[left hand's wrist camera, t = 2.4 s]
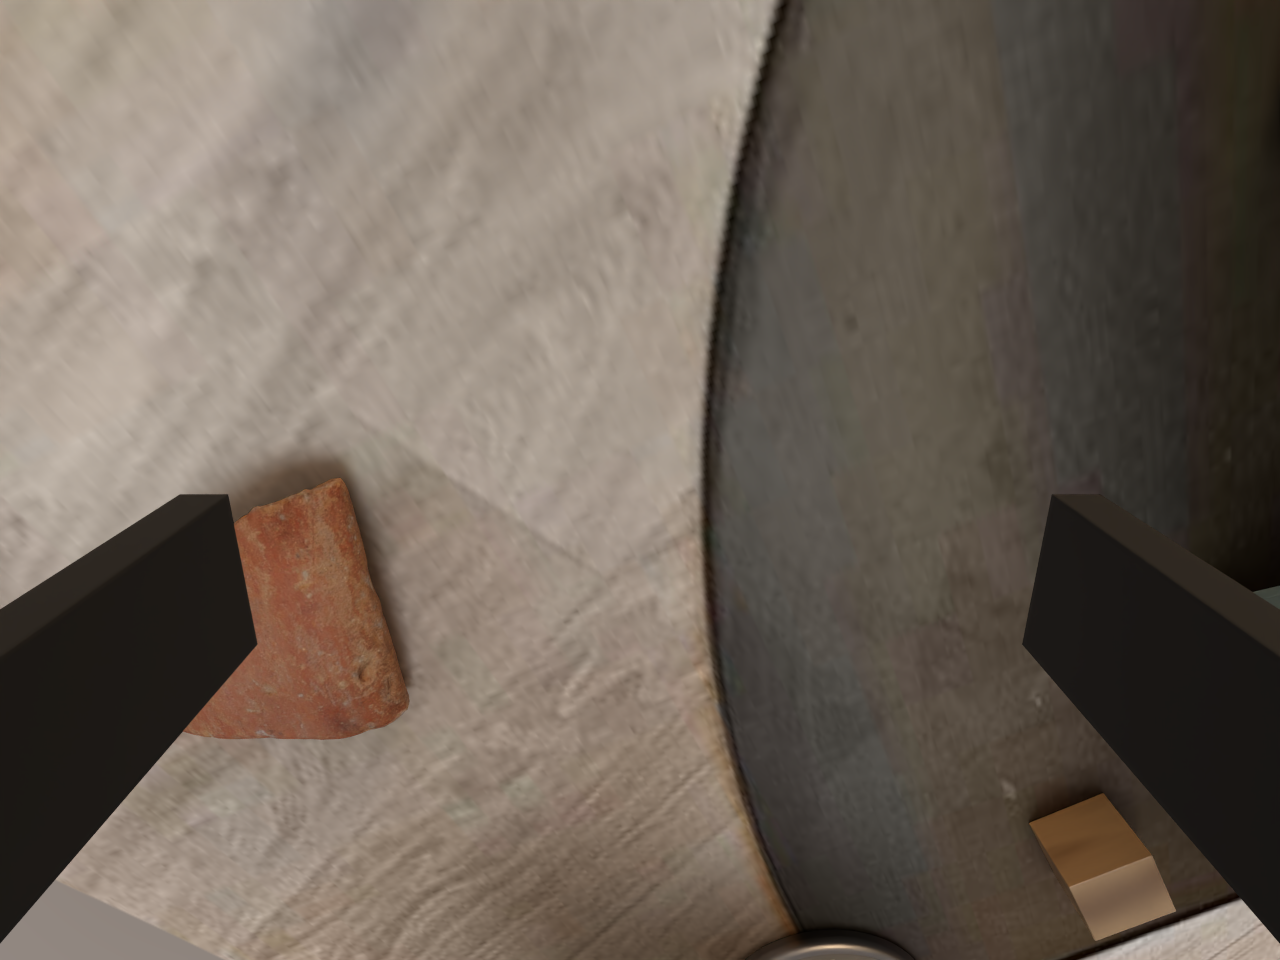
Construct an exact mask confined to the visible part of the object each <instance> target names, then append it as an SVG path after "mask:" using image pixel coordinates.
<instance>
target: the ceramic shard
mask: <svg viewBox="0 0 1280 960" xmlns="http://www.w3.org/2000/svg"><path fill="white" fill-rule="evenodd" d="M234 527H235V532H236V537H237V542H238V547H239V552H240V557H241V562H242V567H243V573H244V578H245V583H246V588H247V593H248V598H249V603H250V608H251V613H252V618H253V623H254V628H255V633H256V638H257V643H258V645H257V646H256V647H255V648H254V649H253V650H252V652H251V653H250V654H249V655H248V656H247V657H246V658H245V660H244V661H243V662H242V663H241V664H240V665H239V667H238V668H237V669H236V670H235V671H234V672H233V674H232V675H231V676H230V677H229V678H228V679H227V681H226V682H225V683H224V684H223V685H222V686H221V688H220V689H219V690H218V691H217V692H216V693H215V694H214V696H213V697H212V698H211V699H210V700H209V701H208V703H207V704H206V705H205V706H204V707H203V708H202V710H201V711H200V712H199V713H198V714H197V715H196V717H195V718H194V719H193V720H192V721H191V722H190V724H189V725H188V726H187V727H186V728H185V729H184V730H183V732H187V733H190V734H194V735H199V736H203V737H216V738H222V739H249V738H268V737H272V738H278V739H320V740H324V739H341V738H347V737H351V736H354V735H358V734H361V733H363V732H365V731H368V730H372V729H376V728H381V727H385V726H386V725H388V724H390V723H392V722H393V721H395V720H396V719H397V718H398V717H400V716H401V715H402V714H403V713H404V712H405V711H406V710H407V709H408V705H409V695H408V692H407V689H406V686H405V683H404V680H403V677H402V673H401V669H400V666H399V664H398V660H397V655H396V652H395V649H394V646H393V643H392V639H391V636H390V633H389V630H388V627H387V624H386V621H385V618H384V616H383V613H382V607H381V602H380V600H379V597H378V596H377V594H376V592H375V590H374V588H373V585H372V582H371V579H370V575H369V571H368V569H367V558H366V554H365V550H364V546H363V542H362V538H361V534H360V530H359V526H358V523H357V521H356V517H355V513H354V508H353V505H352V502H351V499H350V495H349V491H348V489H347V487H346V485H345V483H344V482H343V480H342V479H341V478H336V479H330V480H328V481H326V482H324V483H322V484H319V485H318V486H316V487H315V488H313V489H311V490H307V489H304V490H303V491H301V492H300V493H298V494H294V495H291V496H289V497H287V498H285V499H282V500H280V501H277V502H274V503H270V504H267V505H264V506H256V507H253V508H252V509H251V511H250V512H249V513H248V514H247V515H245V516H243V517H241V518H240V519H239V520H238V521H236V522H235V523H234Z"/></svg>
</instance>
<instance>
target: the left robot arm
mask: <svg viewBox="0 0 1280 960" xmlns="http://www.w3.org/2000/svg"><path fill="white" fill-rule="evenodd" d="M257 645H258V643H257V638H256V633H255V628H254V623H253V618H252V613H251V608H250V603H249V598H248V593H247V588H246V583H245V578H244V573H243V567H242V562H241V557H240V552H239V547H238V542H237V537H236V532H235V527H234V522H233V517H232V512H231V507H230V502H229V497H228V494H180V495H178V496H177V497H175V498H174V499H172V500H171V501H169V502H167V503H166V504H164V505H163V506H161V507H160V508H158V509H157V510H155V511H153V512H152V513H150V514H149V515H147V516H146V517H144V518H142V519H141V520H139V521H138V522H136V523H135V524H133V525H131V526H130V527H128V528H127V529H125V530H124V531H122V532H121V533H119V534H117V535H116V536H114V537H113V538H111V539H110V540H108V541H106V542H105V543H103V544H102V545H100V546H99V547H97V548H96V549H94V550H92V551H91V552H89V553H88V554H86V555H85V556H83V557H81V558H80V559H78V560H77V561H75V562H74V563H72V564H70V565H69V566H67V567H66V568H64V569H63V570H61V571H60V572H58V573H56V574H55V575H53V576H52V577H50V578H49V579H47V580H45V581H44V582H42V583H41V584H39V585H38V586H36V587H35V588H33V589H31V590H30V591H28V592H27V593H25V594H24V595H22V596H20V597H19V598H17V599H16V600H14V601H13V602H11V603H9V604H8V605H6V606H5V607H3V608H2V609H0V943H1V942H2V941H3V940H4V938H5V937H6V936H7V935H8V934H9V933H10V931H11V930H12V929H13V928H14V927H15V926H16V924H17V923H18V922H19V921H20V920H21V919H22V917H23V916H24V915H25V914H26V913H27V912H28V910H29V909H30V908H31V907H32V906H33V905H34V903H35V902H36V901H37V900H38V899H39V898H40V896H41V895H42V894H43V893H44V892H45V891H46V890H47V888H48V887H49V886H50V885H51V884H52V883H53V881H54V880H55V879H56V878H57V877H58V876H59V874H60V873H61V872H62V871H63V870H64V869H65V868H66V866H67V865H68V864H69V863H70V862H71V861H72V859H73V858H74V857H75V856H76V855H77V854H78V852H79V851H80V850H81V849H82V848H83V847H84V845H85V844H86V843H87V842H88V841H89V840H90V838H91V837H92V836H93V835H94V834H95V833H96V832H97V830H98V829H99V828H100V827H101V826H102V825H103V823H104V822H105V821H106V820H107V819H108V818H109V816H110V815H111V814H112V813H113V812H114V811H115V809H116V808H117V807H118V806H119V805H120V804H121V802H122V801H123V800H124V799H125V798H126V797H127V796H128V794H129V793H130V792H131V791H132V790H133V789H134V787H135V786H136V785H137V784H138V783H139V782H140V780H141V779H142V778H143V777H144V776H145V775H146V773H147V772H148V771H149V770H150V769H151V768H152V766H153V765H154V764H155V763H156V762H157V761H158V760H159V758H160V757H161V756H162V755H163V754H164V753H165V751H166V750H167V749H168V748H169V747H170V746H171V744H172V743H173V742H174V741H175V740H176V739H177V737H178V736H179V735H180V734H181V733H182V732H183V730H184V729H185V728H186V727H187V726H188V725H189V724H190V722H191V721H192V720H193V719H194V718H195V717H196V715H197V714H198V713H199V712H200V711H201V710H202V708H203V707H204V706H205V705H206V704H207V703H208V701H209V700H210V699H211V698H212V697H213V696H214V694H215V693H216V692H217V691H218V690H219V689H220V688H221V686H222V685H223V684H224V683H225V682H226V681H227V679H228V678H229V677H230V676H231V675H232V674H233V672H234V671H235V670H236V669H237V668H238V667H239V665H240V664H241V663H242V662H243V661H244V660H245V658H246V657H247V656H248V655H249V654H250V653H251V652H252V650H253V649H254V648H255V647H256V646H257ZM1022 645H1023V646H1024V647H1025V648H1026V649H1027V650H1028V652H1029V653H1030V654H1031V655H1032V656H1033V657H1034V658H1035V660H1036V661H1037V662H1038V663H1039V664H1040V665H1041V667H1042V668H1043V669H1044V670H1045V671H1046V672H1047V674H1048V675H1049V676H1050V677H1051V678H1052V679H1053V681H1054V682H1055V683H1056V684H1057V685H1058V686H1059V688H1060V689H1061V690H1062V691H1063V692H1064V693H1065V694H1066V696H1067V697H1068V698H1069V699H1070V700H1071V701H1072V703H1073V704H1074V705H1075V706H1076V707H1077V708H1078V710H1079V711H1080V712H1081V713H1082V714H1083V715H1084V717H1085V718H1086V719H1087V720H1088V721H1089V722H1090V724H1091V725H1092V726H1093V727H1094V728H1095V729H1096V730H1097V732H1098V733H1099V734H1100V735H1101V736H1102V737H1103V739H1104V740H1105V741H1106V742H1107V743H1108V744H1109V746H1110V747H1111V748H1112V749H1113V750H1114V751H1115V753H1116V754H1117V755H1118V756H1119V757H1120V758H1121V760H1122V761H1123V762H1124V763H1125V764H1126V765H1127V766H1128V768H1129V769H1130V770H1131V771H1132V772H1133V773H1134V775H1135V776H1136V777H1137V778H1138V779H1139V780H1140V782H1141V783H1142V784H1143V785H1144V786H1145V787H1146V789H1147V790H1148V791H1149V792H1150V793H1151V794H1152V796H1153V797H1154V798H1155V799H1156V800H1157V801H1158V802H1159V804H1160V805H1161V806H1162V807H1163V808H1164V809H1165V811H1166V812H1167V813H1168V814H1169V815H1170V816H1171V818H1172V819H1173V820H1174V821H1175V822H1176V823H1177V825H1178V826H1179V827H1180V828H1181V829H1182V830H1183V832H1184V833H1185V834H1186V835H1187V836H1188V837H1189V838H1190V840H1191V841H1192V842H1193V843H1194V844H1195V845H1196V847H1197V848H1198V849H1199V850H1200V851H1201V852H1202V854H1203V855H1204V856H1205V857H1206V858H1207V859H1208V861H1209V862H1210V863H1211V864H1212V865H1213V866H1214V868H1215V869H1216V870H1217V871H1218V872H1219V873H1220V874H1221V876H1222V877H1223V878H1224V879H1225V880H1226V881H1227V883H1228V884H1229V885H1230V886H1231V887H1232V888H1233V890H1234V891H1235V892H1236V893H1237V894H1238V895H1239V897H1240V898H1241V899H1242V900H1243V901H1244V902H1245V904H1246V905H1247V906H1248V907H1249V908H1250V909H1251V910H1252V912H1253V913H1254V914H1255V915H1256V916H1257V917H1258V919H1259V920H1260V921H1261V922H1262V923H1263V924H1264V926H1265V927H1266V928H1267V929H1268V930H1269V931H1270V933H1271V934H1272V935H1273V936H1274V937H1275V938H1276V940H1277V941H1278V942H1279V943H1280V609H1278V608H1277V607H1275V606H1274V605H1272V604H1271V603H1269V602H1267V601H1266V600H1264V599H1263V598H1261V597H1260V596H1258V595H1256V594H1255V593H1253V592H1252V591H1250V590H1249V589H1247V588H1245V587H1244V586H1242V585H1241V584H1239V583H1238V582H1236V581H1235V580H1233V579H1231V578H1230V577H1228V576H1227V575H1225V574H1224V573H1222V572H1220V571H1219V570H1217V569H1216V568H1214V567H1213V566H1211V565H1210V564H1208V563H1206V562H1205V561H1203V560H1202V559H1200V558H1199V557H1197V556H1195V555H1194V554H1192V553H1191V552H1189V551H1188V550H1186V549H1184V548H1183V547H1181V546H1180V545H1178V544H1177V543H1175V542H1174V541H1172V540H1170V539H1169V538H1167V537H1166V536H1164V535H1163V534H1161V533H1159V532H1158V531H1156V530H1155V529H1153V528H1152V527H1150V526H1149V525H1147V524H1145V523H1144V522H1142V521H1141V520H1139V519H1138V518H1136V517H1134V516H1133V515H1131V514H1130V513H1128V512H1127V511H1125V510H1123V509H1122V508H1120V507H1119V506H1117V505H1116V504H1114V503H1113V502H1111V501H1109V500H1108V499H1106V498H1105V497H1103V496H1102V495H1100V494H1052V497H1051V502H1050V507H1049V512H1048V517H1047V522H1046V527H1045V532H1044V537H1043V542H1042V547H1041V552H1040V557H1039V562H1038V567H1037V573H1036V578H1035V583H1034V588H1033V593H1032V598H1031V603H1030V608H1029V613H1028V618H1027V623H1026V628H1025V633H1024V638H1023V643H1022ZM745 960H914V959H913V958H912V957H911V956H910V955H909V954H908V953H907V952H905V951H904V950H903V949H901V948H900V947H898V946H897V945H895V944H893V943H891V942H889V941H887V940H885V939H882V938H880V937H877V936H874V935H870V934H867V933H862V932H857V931H849V930H817V931H809V932H804V933H799V934H795V935H791V936H788V937H785V938H782V939H779V940H777V941H775V942H772V943H770V944H768V945H766V946H764V947H762V948H761V949H759V950H758V951H756V952H754V953H753V954H752V955H750V956H749V957H748V958H746V959H745Z"/></svg>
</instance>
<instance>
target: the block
mask: <svg viewBox="0 0 1280 960" xmlns="http://www.w3.org/2000/svg"><path fill="white" fill-rule="evenodd" d="M1029 824H1030V826H1031V829H1032V831H1033V833H1034V835H1035V837H1036V839H1037V841H1038V843H1039V845H1040V847H1041V849H1042V851H1043V853H1044V855H1045V857H1046V859H1047V861H1048V863H1049V865H1050V867H1051V869H1052V871H1053V873H1054V875H1055V876H1056V878H1057V880H1058V881H1059V883H1060V884H1061V886H1062V888H1063V889H1064V891H1065V893H1066V894H1067V896H1068V897H1069V899H1070V901H1071V902H1072V904H1073V906H1074V907H1075V909H1076V911H1077V912H1078V914H1079V915H1080V917H1081V919H1082V920H1083V922H1084V924H1085V925H1086V927H1087V928H1088V930H1089V932H1090V933H1091V935H1092V937H1093V938H1094V940H1095V941H1097V940H1099V939H1102V938H1105V937H1108V936H1110V935H1113V934H1116V933H1118V932H1121V931H1124V930H1126V929H1129V928H1132V927H1135V926H1137V925H1140V924H1143V923H1145V922H1148V921H1151V920H1153V919H1156V918H1159V917H1162V916H1164V915H1167V914H1170V913H1172V912H1175V911H1176V910H1175V907H1174V905H1173V903H1172V900H1171V898H1170V896H1169V893H1168V891H1167V889H1166V886H1165V884H1164V882H1163V880H1162V877H1161V875H1160V873H1159V870H1158V868H1157V866H1156V863H1155V861H1154V859H1153V856H1152V855H1151V853H1150V852H1149V851H1148V850H1147V848H1146V847H1145V846H1144V844H1143V843H1142V842H1141V841H1140V839H1139V838H1138V837H1137V835H1136V834H1135V833H1134V832H1133V830H1132V829H1131V828H1130V826H1129V825H1128V824H1127V823H1126V821H1125V820H1124V819H1123V818H1122V816H1121V815H1120V814H1119V812H1118V811H1117V810H1116V809H1115V807H1114V806H1113V805H1112V803H1111V802H1110V801H1109V800H1108V798H1107V797H1106V796H1105V795H1104V793H1102V794H1100V795H1097V796H1095V797H1092V798H1090V799H1087V800H1085V801H1082V802H1080V803H1077V804H1075V805H1072V806H1070V807H1067V808H1065V809H1062V810H1060V811H1057V812H1055V813H1052V814H1050V815H1048V816H1045V817H1043V818H1040V819H1038V820H1035V821H1033V822H1030V823H1029Z"/></svg>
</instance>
